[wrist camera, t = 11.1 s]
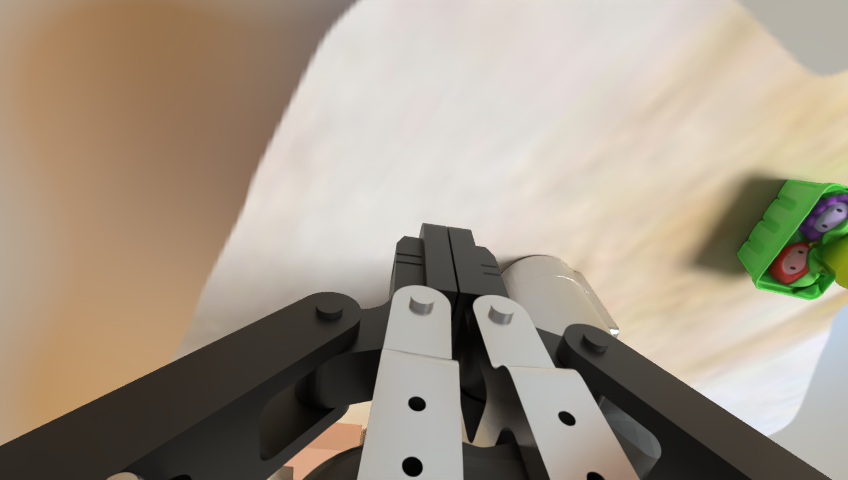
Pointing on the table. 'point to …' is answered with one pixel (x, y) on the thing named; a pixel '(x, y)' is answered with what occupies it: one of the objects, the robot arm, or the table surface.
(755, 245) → the fruit basket
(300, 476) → the T-block
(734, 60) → the table surface
